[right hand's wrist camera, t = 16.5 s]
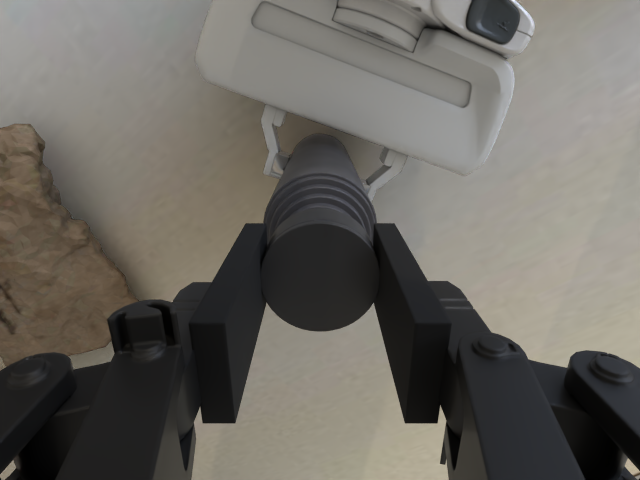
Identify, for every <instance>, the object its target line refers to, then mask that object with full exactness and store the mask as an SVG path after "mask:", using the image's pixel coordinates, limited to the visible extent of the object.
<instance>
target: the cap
mask: <svg viewBox="0 0 640 480" xmlns="http://www.w3.org/2000/svg"><path fill="white" fill-rule="evenodd" d="M260 273H261V289H262V293H263V295H264V298H265V300H266V302H267V303H268V305H269V306H270V308H271V309H272V310H273V311H274V312H275V313H276V314H277V315H278V316H279V317H280V318H281V319H283V320H284V321H286V322H287V323H289V324H291V325H293V326H295V327H298V328H301V329H305V330H309V331H331V330H336V329H340V328H342V327H345V326H347V325H349V324H351V323H353V322H355V321H356V320H358V319H359V318H360V317H362V316H363V315H364V314H365V313H366V312H367V311H368V310H369V308H370V307H371V305H372V304H373V303H374V301H375V299H376V297H377V294H378V291H379V277H380V267H379V263H378V260H377V257H376V254H375V251H374V248H373V245H372V243H371V240H370V238H369V236H368V234H367V232H366V231H365V230H364V228H363V227H362V226H361V225H360V224H359V223H358V222H357V221H356V220H355V219H353V218H352V217H350V216H348V215H347V214H345V213H342V212H340V211H337V210H333V209H327V208H313V209H307V210H304V211H300V212H298V213H296V214H294V215H292V216H290V217H289V218H287V219H286V220H285V221H283V222H282V223H281V224H280V225H279V226H278V227H277V229H276V230H275V231H274V233H273V235H272V237H271V238H270V241H269V244H268V247H267V250H266V253H265V255H264V258H263V261H262V265H261V269H260Z"/></svg>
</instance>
